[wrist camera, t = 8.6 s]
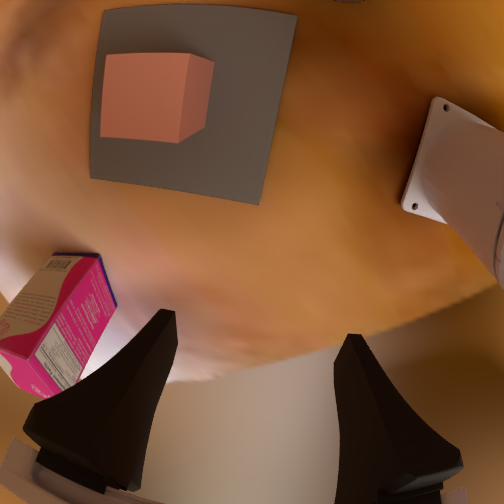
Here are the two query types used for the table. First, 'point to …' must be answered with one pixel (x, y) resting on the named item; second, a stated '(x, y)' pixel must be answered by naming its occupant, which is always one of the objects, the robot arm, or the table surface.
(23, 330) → the supplement box
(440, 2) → the table surface
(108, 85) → the red block
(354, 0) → the grey domed cylinder
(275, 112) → the charcoal mat
